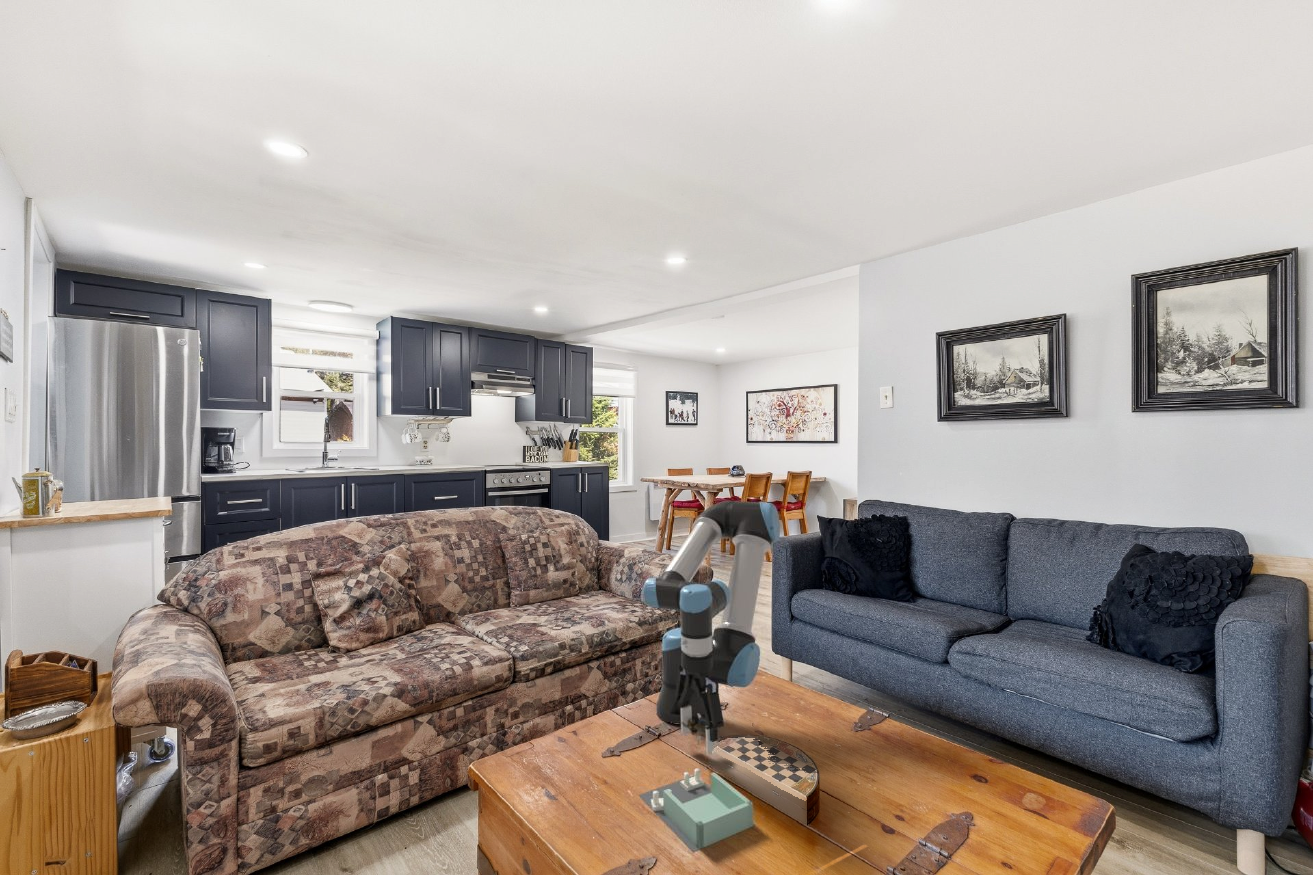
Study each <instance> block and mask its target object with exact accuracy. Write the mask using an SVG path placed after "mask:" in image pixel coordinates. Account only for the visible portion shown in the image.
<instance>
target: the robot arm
mask: <svg viewBox="0 0 1313 875" xmlns="http://www.w3.org/2000/svg"><path fill="white" fill-rule="evenodd" d="M778 512H779V511H778V509H777V507H776V505H774V504H773V503H771V502H763V501H743V500H742V501H740V500H724V501H719V502H717V503H715V504H712V505H711V506H709V507H707V508H706V509H705V510H703V511H702V512H701V513H700V514H699V515H698V516H697V517H696V518H695V520H694V522H693V523H692V525H691V532H690V533H689V535H688V536H687V537H686V539H685V540H684V542H683V543H682V545H681V546H680V548H679V549H678V550H677V552H676V553H675V555H674V557H673V558H672V559H671V561H670V562H669V564H668V565H667V567H666V568H665V570H664V571H663V573H661V575H660V576H659V577H657V576H656V577H649V578H647V579H646V580H645V581H644V584H643V587H642V598H643V602H644V604H645V605H646V606H648V607H651V608H652V607H653V608H656V609H657V608H658V609H665V610H673V611H679V612H680V627H676V628H672V629H670V630H668V631H667V632H665V633H664V635H663V636H662V642H661V643H662V644H661V656H662V657H661V663H662V664H661V665H662V667H661V668H662V670H661V671H662V673H661V674H662V685H661V689H660V692H659V696H658V699H657V702H656V716H657V717H658V719H660V720H662V721H663V722H666V723H668V722H672V723H679V724H681V725H680V734H681V735H682V736H685V735H688V734H692V733H691V730H690V729H689V728H687V727H685V726H683V724H682V722H683V723H684V724H687V725H688V720H689V719H690V721H691V724H692V718H693V720H694V721H695V722H694V724H698V723H699V719H698V715H697V714H700V715H701V716H702V717H704V718H706V721H707V724H708V726H706V736H705V754H706V755H707V756H710V755H713V754H712V751H713V749H714V748H715V747H717V740H718V735H719V729H720V728H723V727H724V726H725V723H724V718H723V715H724V714H723V711H722V710H723V709H722V705H721V698H720V694H719V689H720V688H719V685H724V686H728V687H731V688H733V687H736V688H746V687H749V686H750V685H751V684H752V682H754V679H755V678H756V675H757V673H758V669H759V667H760V666H759V665H760V660H761V659H760V658H761V657H760V656H761V648H760V646H759V644H758V643H756V636H755V635H754V633H753V632H752V629H753V624H754V618H755V617H754V616H755V611H756V605H757V599H758V593H759V588H760V583H761V575H762V571H763V564H764V558H765V554H766V553H767V552H769V551H770V550H771V549H772V543H777V542H778V541H779V539H780V536H781V535H780V534H781V527H780V526H781V525H780V517H779V513H778ZM722 539H731V541H732V544H733V545H734V546H735V549H734V556H733V560H732V565H731V570H730V576H729V581H728V585H727V584H726V583H724V582H723V581H721V580H718V579H717V580H716V579H714V580H710V581H708V582H706V583H704V582H696V581H692V580H693V578H694V577H695V575H696V574H697V572H698V570H699V569H700V567H701V565H702V564H703V562H704V561H705V559H706V557H707V555H708V554H709V553H710V551H711V549H712V548H713V546H714V545H717V544H718V543H719V542H720V541H721V540H722ZM721 612H722V616H721V622H720V624H719V625H717V626H716V627H714V628H713V619H714V618H715V617H716V616H718V615H719V613H721ZM672 723H671V724H672Z"/></svg>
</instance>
